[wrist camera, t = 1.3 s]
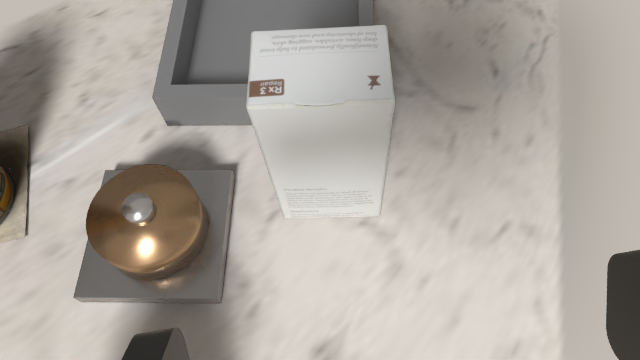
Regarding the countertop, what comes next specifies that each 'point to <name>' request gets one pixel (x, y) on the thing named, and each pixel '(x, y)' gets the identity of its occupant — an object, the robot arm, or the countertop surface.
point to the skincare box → (323, 117)
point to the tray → (230, 51)
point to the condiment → (13, 183)
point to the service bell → (157, 236)
